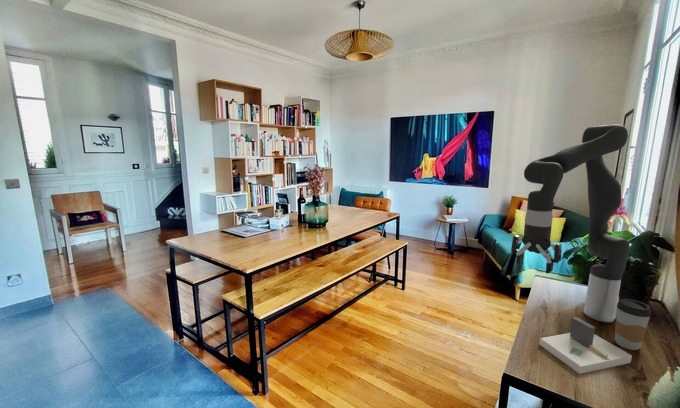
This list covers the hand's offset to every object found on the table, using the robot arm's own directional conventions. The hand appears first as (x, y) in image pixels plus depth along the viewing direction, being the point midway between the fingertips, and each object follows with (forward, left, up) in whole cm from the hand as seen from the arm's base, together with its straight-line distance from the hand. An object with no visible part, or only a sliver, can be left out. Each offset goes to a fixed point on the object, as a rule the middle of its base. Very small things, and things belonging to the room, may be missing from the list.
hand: (533, 269), depth 103 cm
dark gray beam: (-12, +12, -23) cm, 29 cm away
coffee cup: (-30, +12, -26) cm, 42 cm away
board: (-11, +12, -26) cm, 30 cm away
